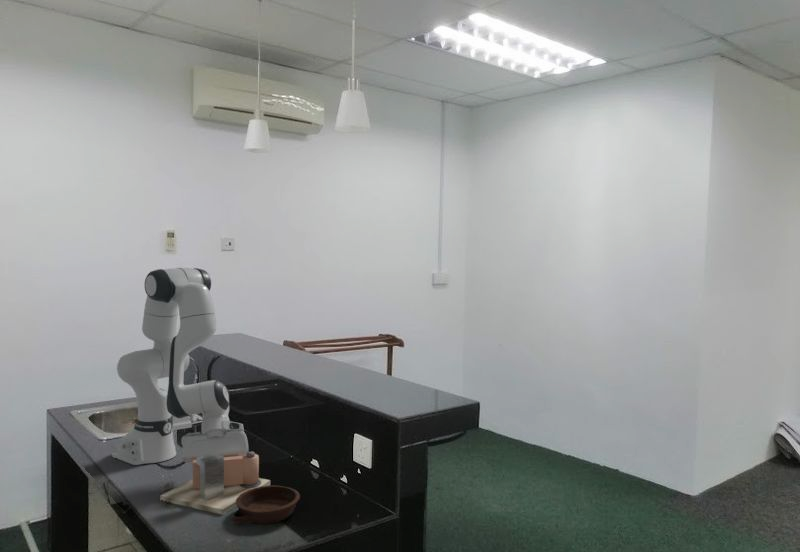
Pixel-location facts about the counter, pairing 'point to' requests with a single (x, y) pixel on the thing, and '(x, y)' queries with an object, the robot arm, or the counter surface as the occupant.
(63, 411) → the counter surface
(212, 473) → the block
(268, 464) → the counter surface
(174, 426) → the hinge
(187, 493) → the base board
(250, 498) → the dish
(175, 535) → the counter surface
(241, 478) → the link
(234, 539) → the counter surface
